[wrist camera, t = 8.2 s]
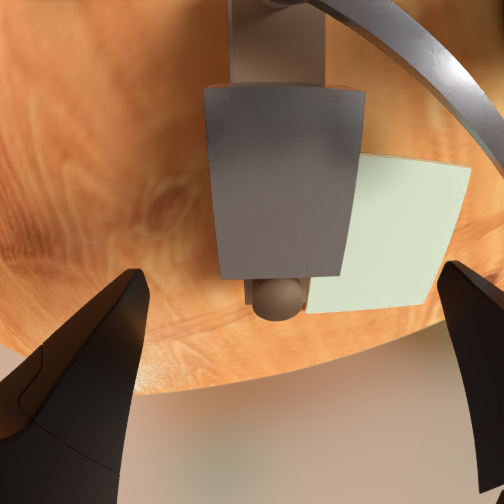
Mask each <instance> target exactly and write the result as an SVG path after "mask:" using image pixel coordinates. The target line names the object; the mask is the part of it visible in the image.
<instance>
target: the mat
mask: <svg viewBox="0 0 504 504" xmlns="http://www.w3.org/2000/svg"><path fill="white" fill-rule="evenodd" d="M471 170H472V169H471V168H470V167H468V166H466V165H460V164H454V163H448V162H441V161H434V160H427V159H420V158H412V157H403V156H394V155H383V154H372V153H360V157H359V165H358V173H357V180H356V187H355V194H354V201H353V207H352V213H351V220H350V225H349V231H348V237H347V242H346V247H345V253H344V258H343V263H342V267H341V272H340V276H332V277H309V284H308V291H307V298H306V305H305V311H306V314H309V313H327V312H342V311H356V310H369V309H380V308H391V307H400V306H410V305H419V304H423V303H424V301H425V299H426V297H427V295H428V292H429V290H430V288H431V286H432V284H433V281H434V279H435V277H436V274H437V272H438V270H439V267H440V265H441V263H442V260H443V258H444V255H445V252H446V250H447V247H448V245H449V242H450V239H451V236H452V234H453V231H454V228H455V225H456V222H457V219H458V216H459V213H460V210H461V206H462V203H463V200H464V196H465V193H466V189H467V186H468V182H469V178H470V174H471Z"/></svg>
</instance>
